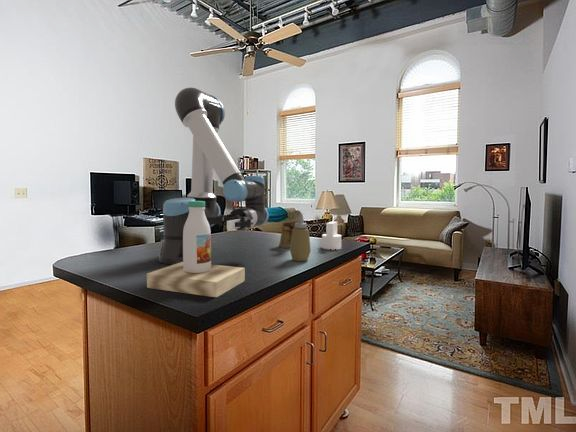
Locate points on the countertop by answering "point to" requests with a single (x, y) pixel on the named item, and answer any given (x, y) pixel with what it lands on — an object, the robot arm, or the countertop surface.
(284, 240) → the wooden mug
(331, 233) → the white tiered cake
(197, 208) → the milk bottle
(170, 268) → the board
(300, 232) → the squeeze bottle
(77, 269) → the countertop surface
